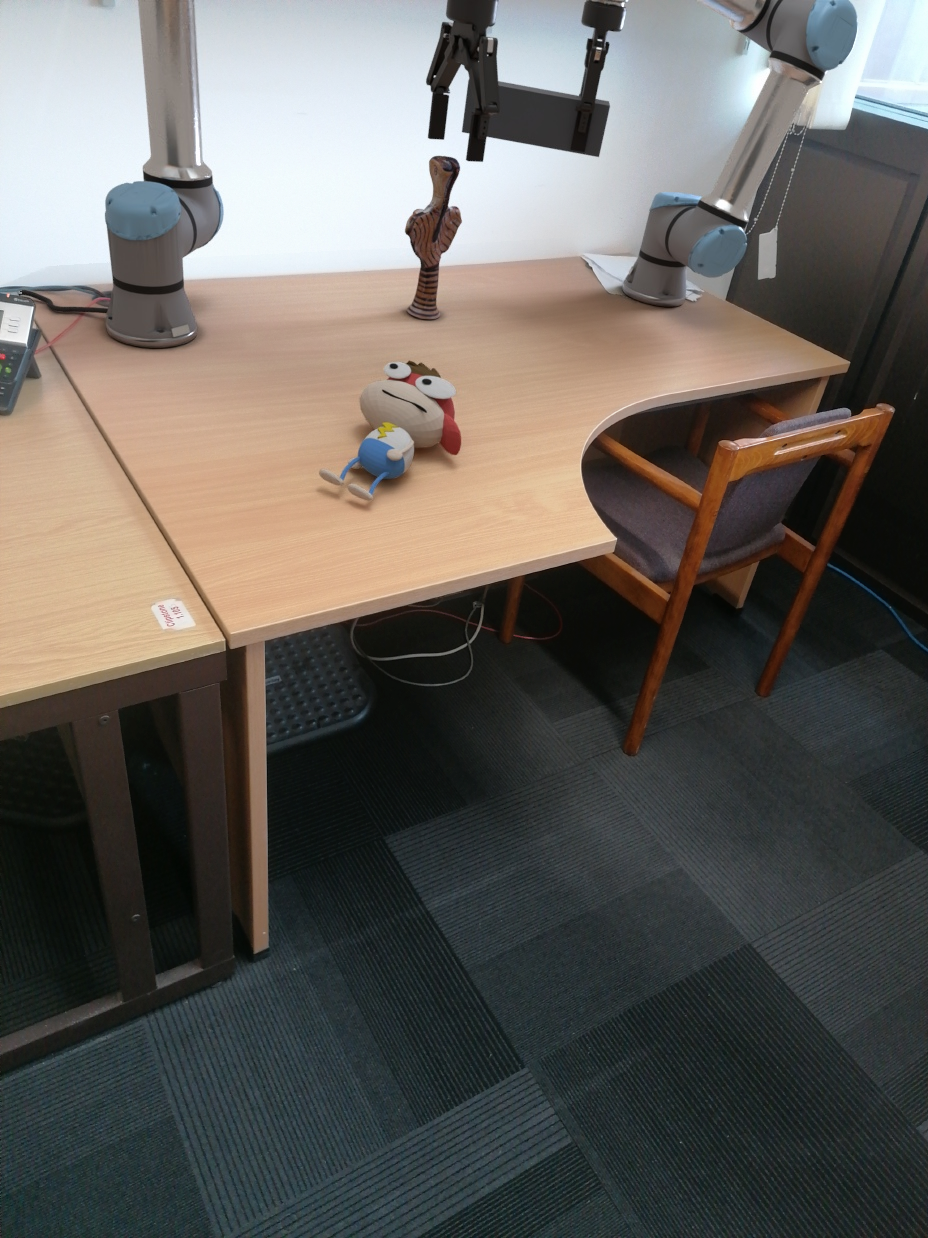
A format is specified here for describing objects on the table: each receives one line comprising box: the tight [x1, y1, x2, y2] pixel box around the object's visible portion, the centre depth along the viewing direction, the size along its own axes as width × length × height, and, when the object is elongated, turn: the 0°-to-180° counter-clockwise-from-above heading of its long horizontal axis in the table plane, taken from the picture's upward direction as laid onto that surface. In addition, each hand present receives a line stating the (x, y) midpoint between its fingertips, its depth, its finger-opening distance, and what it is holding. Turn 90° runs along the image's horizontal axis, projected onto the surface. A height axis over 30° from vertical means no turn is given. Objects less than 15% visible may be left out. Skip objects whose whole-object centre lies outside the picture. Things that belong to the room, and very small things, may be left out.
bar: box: [461, 78, 611, 158], centre depth 168 cm, size 26×5×9 cm, turn 85°
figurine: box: [404, 155, 463, 320], centre depth 174 cm, size 15×8×30 cm, turn 144°
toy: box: [318, 360, 462, 502], centre depth 133 cm, size 18×10×30 cm
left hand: (454, 149), depth 144 cm, fingers open, 13 cm apart
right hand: (577, 146), depth 170 cm, fingers closed on bar, 5 cm apart
